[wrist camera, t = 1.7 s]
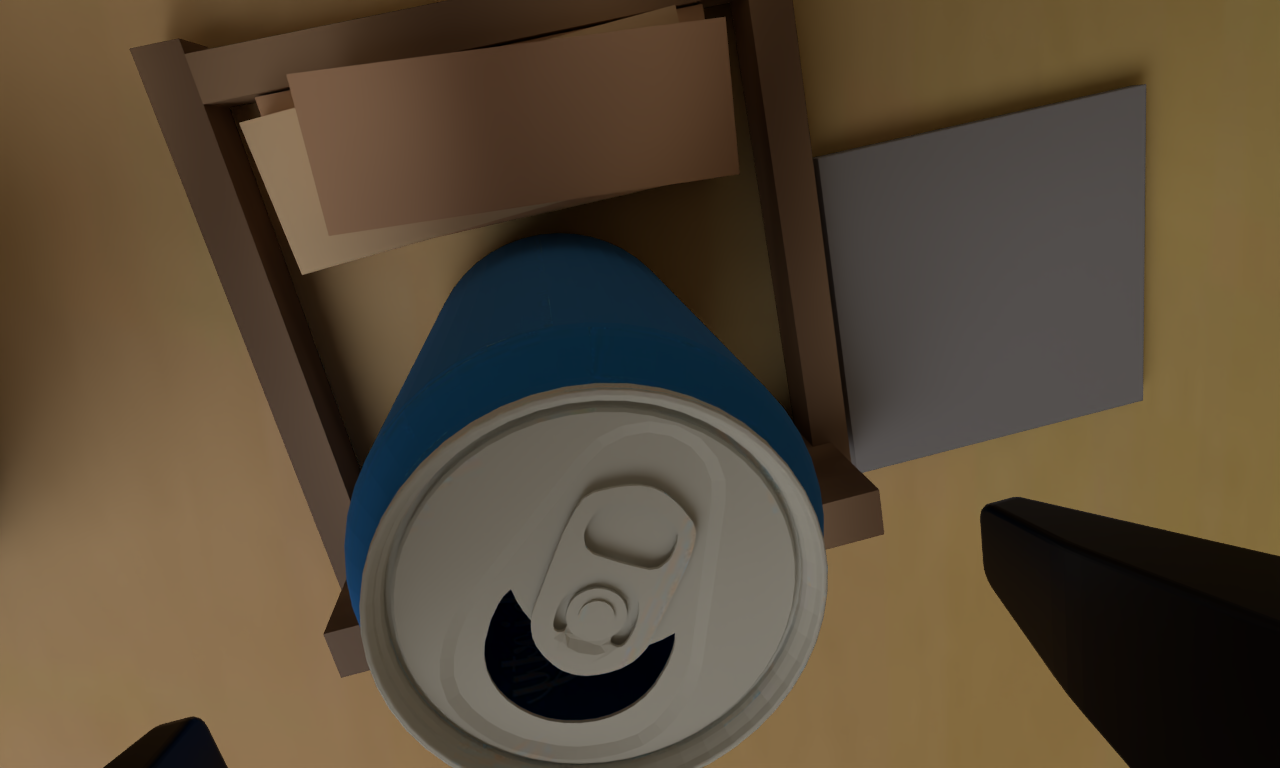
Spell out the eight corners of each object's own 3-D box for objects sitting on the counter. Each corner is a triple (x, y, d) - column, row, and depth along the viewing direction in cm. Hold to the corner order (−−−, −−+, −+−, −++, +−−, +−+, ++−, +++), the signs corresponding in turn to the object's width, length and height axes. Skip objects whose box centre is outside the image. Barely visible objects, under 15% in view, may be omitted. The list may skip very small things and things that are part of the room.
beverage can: (404, 422, 20) (252, 771, 9) (483, 190, 19) (418, 261, 8) (627, 491, 22) (735, 863, 11) (716, 282, 20) (952, 454, 9)
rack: (761, -66, 18) (834, -130, 14) (832, 455, 22) (903, 528, 18) (162, 56, 17) (42, 27, 13) (360, 576, 22) (319, 683, 17)
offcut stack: (690, 13, 18) (730, -19, 15) (716, 170, 20) (760, 176, 16) (270, 101, 18) (205, 90, 14) (324, 259, 19) (276, 286, 15)
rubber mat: (1131, 85, 20) (1146, 84, 20) (1130, 395, 23) (1142, 400, 23) (811, 158, 20) (818, 158, 19) (850, 466, 23) (857, 473, 22)
